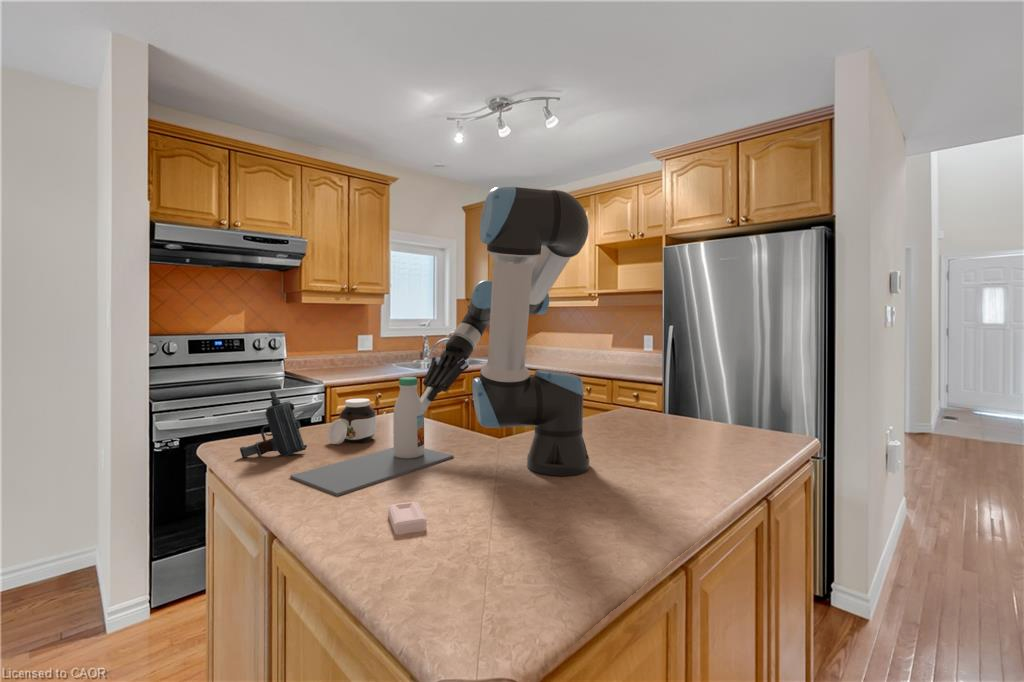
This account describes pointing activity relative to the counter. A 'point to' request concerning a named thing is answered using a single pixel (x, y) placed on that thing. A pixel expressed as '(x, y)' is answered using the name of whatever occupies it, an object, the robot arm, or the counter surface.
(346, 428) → the spread jar
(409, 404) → the milk bottle
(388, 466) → the rubber mat
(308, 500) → the counter surface
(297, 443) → the gun
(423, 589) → the counter surface
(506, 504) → the counter surface
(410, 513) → the soap bar
